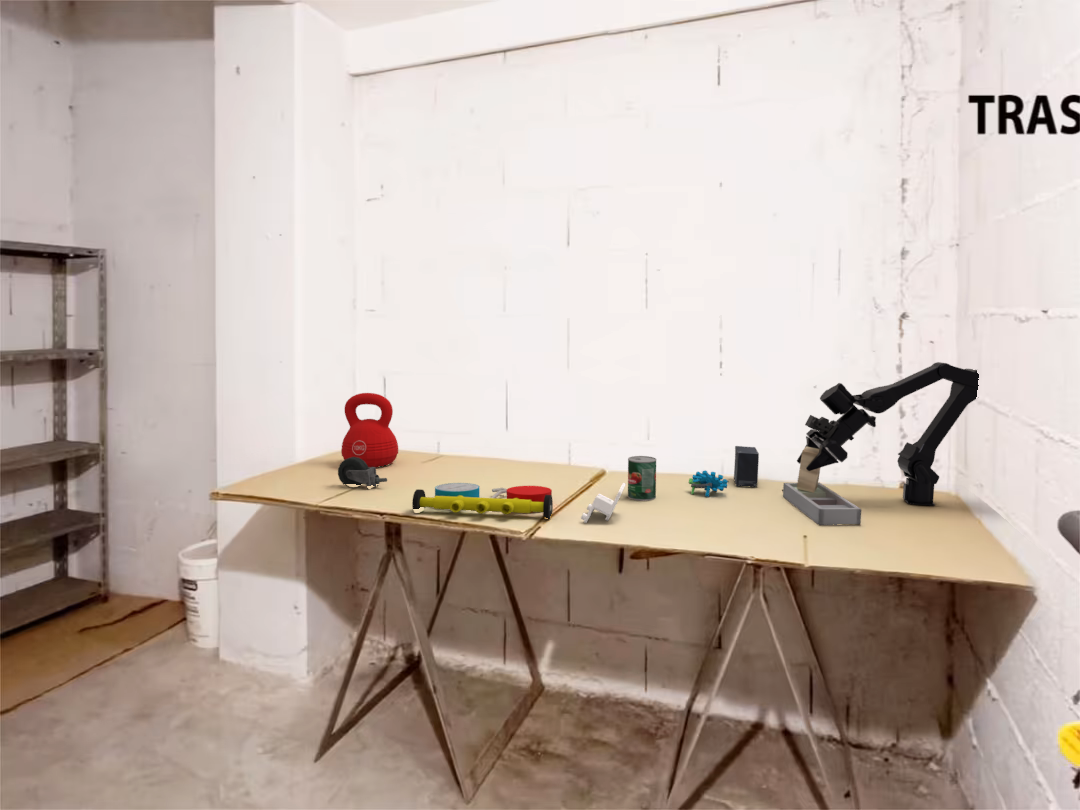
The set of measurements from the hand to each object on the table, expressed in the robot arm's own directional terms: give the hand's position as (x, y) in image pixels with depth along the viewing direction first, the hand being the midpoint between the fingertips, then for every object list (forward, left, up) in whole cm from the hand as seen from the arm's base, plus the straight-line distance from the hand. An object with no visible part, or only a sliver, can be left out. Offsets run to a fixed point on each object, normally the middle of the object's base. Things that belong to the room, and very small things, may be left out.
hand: (802, 466), depth 188 cm
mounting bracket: (+49, +30, -10) cm, 59 cm away
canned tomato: (+43, +8, -10) cm, 44 cm away
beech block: (-1, 0, -6) cm, 6 cm away
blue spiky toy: (+25, 0, -10) cm, 27 cm away
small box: (+15, -16, -10) cm, 24 cm away
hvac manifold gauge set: (+81, +28, -10) cm, 86 cm away
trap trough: (-4, +8, -10) cm, 13 cm away
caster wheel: (+125, +19, -10) cm, 126 cm away
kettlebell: (+139, -9, -10) cm, 139 cm away
